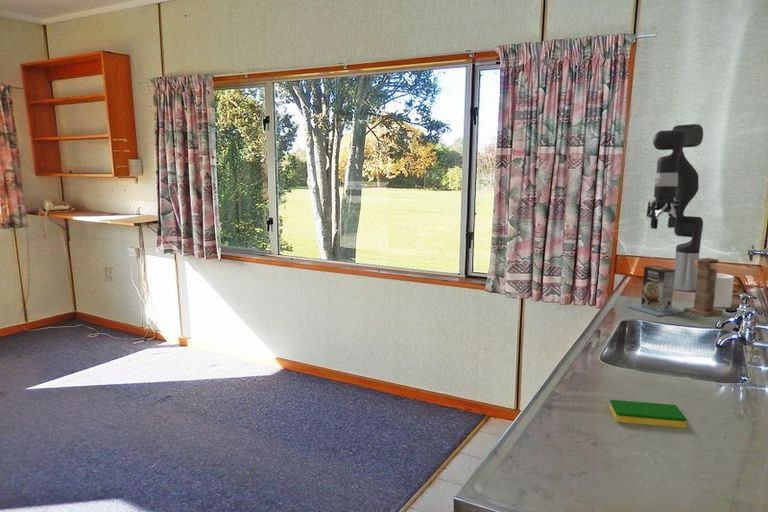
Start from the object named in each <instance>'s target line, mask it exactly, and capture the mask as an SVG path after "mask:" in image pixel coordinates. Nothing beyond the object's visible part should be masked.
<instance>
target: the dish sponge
mask: <svg viewBox="0 0 768 512" xmlns="http://www.w3.org/2000/svg"><path fill="white" fill-rule="evenodd" d="M609 410H610V412H611V414H612V416H613V419H614V420H615V422H619V423H625V424H628V423H629V424H637V425H650V426H660V427H661V426H662V427H673V428H680V429H681V428H683V429H684V428H687V417H686V416H685V415H684V413H683V412H682V411H681V410H680V409H679V406H677V405H676V404H668V403H658V402H657V403H655V402H646V401H645V402H644V401H643V402H642V401H631V400H620V399H619V400H618V399H610V400H609Z"/></svg>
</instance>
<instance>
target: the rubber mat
mask: <svg viewBox="0 0 768 512" xmlns="http://www.w3.org/2000/svg"><path fill="white" fill-rule="evenodd" d="M627 308H628V309H630V310H634V311H637V312H642V313H644V314H648V315H650V316H654V317H656V318H657V317H658V316H659V317H666V316H665V315H667V316H672V314H674V315H679V313H681V314H686V311H684V310H682V309H678V308H674V307H672V309H671V311H664V312H658V311H655V310H651V309H648V308H645V307H641V304H634V305H628V306H627Z"/></svg>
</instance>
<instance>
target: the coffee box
mask: <svg viewBox="0 0 768 512" xmlns="http://www.w3.org/2000/svg"><path fill="white" fill-rule="evenodd" d="M642 278H643V279H642V293H641V301H640V302H641V303H640V305H641V307H645V308H648V309H651V310H655V311H658V312H664V311H671V309H672V308H673V297H674V290H675V289H674V279H675V270H674V269H672V268H667V267H663V266H657V265H647V266H644V268H643V277H642Z"/></svg>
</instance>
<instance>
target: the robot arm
mask: <svg viewBox="0 0 768 512" xmlns="http://www.w3.org/2000/svg"><path fill="white" fill-rule="evenodd" d="M703 138H704V128H703V126H702V125H700V124H696V123H691V124H679V125H678V124H677V125H674V127H672V129H671V130H669V129H668V130H658V131H657V132H656V133H655V135H654V136H653V139H652V143H653V146H654V148H655V149H656V150H657V151H672V152H671V153H670V154H669V155H665V156H664V155H663V156H661V157H658V159H657V161H656V173H655V177H654V191H653V197H654V198H655V200H648V202H647V204H648V205H647V211H646V217H647V218H650V228H651V229H652V230H657V229H658V225H659V217H660V215H662V214H663V213H666V214H667V216H668V217H667V218H668V221H667V228H669V229H673V231H674V234H675V236H677V237H685V238H691V240H689V241H687V242H685V243H679V244H677V245H676V246H675V256H674V257H675V258H674V266H673V267H674V269H673V270H675V279H674V289H673V290H677V291H681V290H682V291H683V292H694V291H695V292H696V282H697V271H698V268H697V266H694V262H695V260H698V259H700V249H701V244H702V243H701V242H702V235H703V227H704V220H703V218H702V217H701V216H689V215H687V216H686V215H684V213H685V209H686V208H687V206H688V205H689V203H690V202H691V201H692V199H694V197H695V196H696V195H697V193H698V191H699V174H698V172H697V170H696V169H695V167H694V166H693V165H692V164H691V163H690V161H689V160H688V159H687V157H686V156H685V153H684V148H696V147H698V146H701V144H702V142H703V140H704V139H703Z"/></svg>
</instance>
